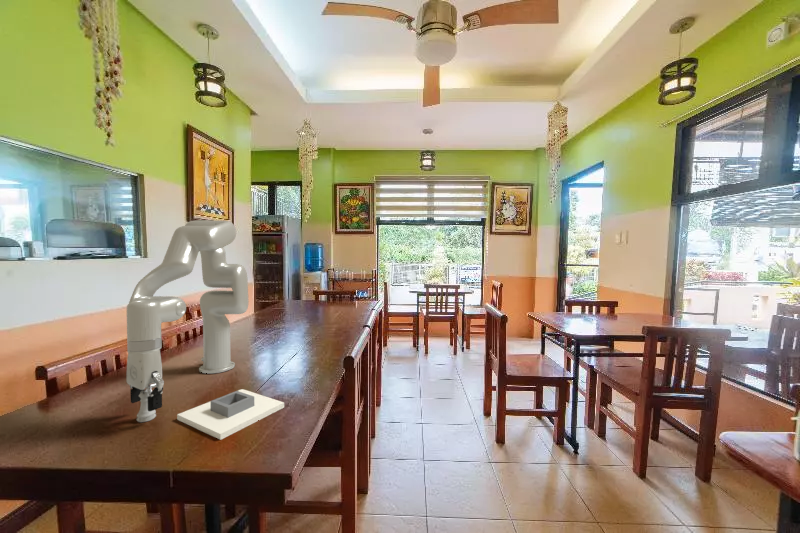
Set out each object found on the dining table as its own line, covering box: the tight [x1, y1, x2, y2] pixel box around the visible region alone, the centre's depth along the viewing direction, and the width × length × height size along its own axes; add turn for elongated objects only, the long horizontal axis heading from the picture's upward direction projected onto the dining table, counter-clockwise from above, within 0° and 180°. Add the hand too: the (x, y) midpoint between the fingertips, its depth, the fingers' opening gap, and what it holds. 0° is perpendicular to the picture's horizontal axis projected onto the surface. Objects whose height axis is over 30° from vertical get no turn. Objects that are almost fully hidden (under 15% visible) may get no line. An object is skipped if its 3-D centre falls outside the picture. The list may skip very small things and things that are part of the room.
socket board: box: [176, 388, 285, 441], centre depth 95 cm, size 20×20×4 cm
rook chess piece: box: [136, 388, 157, 423], centre depth 91 cm, size 4×4×8 cm
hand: (146, 405), depth 91 cm, fingers open, 9 cm apart
